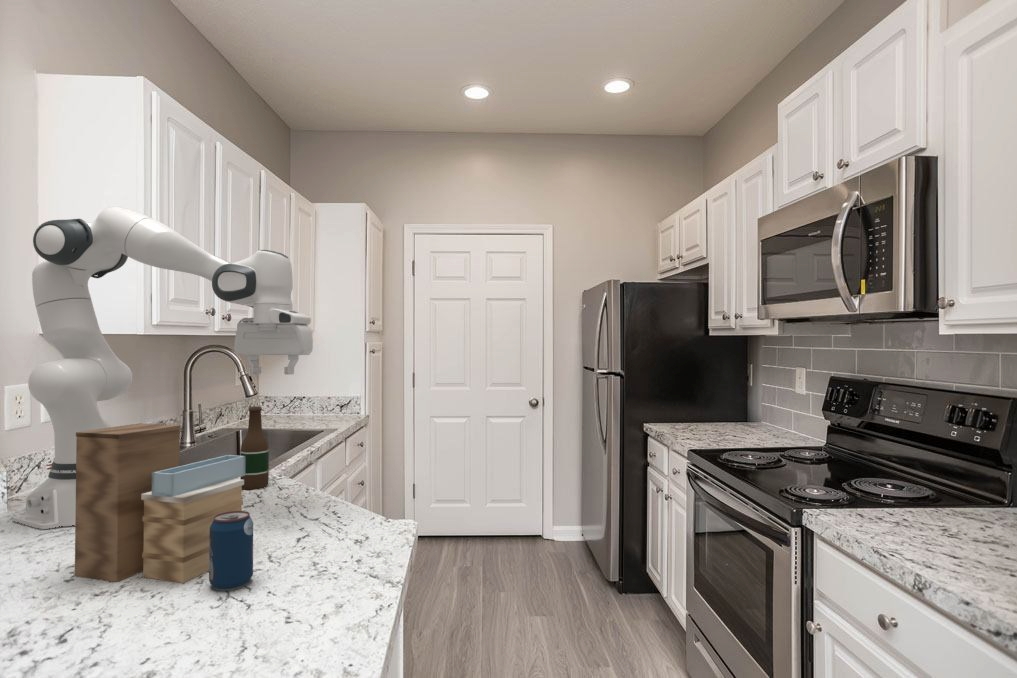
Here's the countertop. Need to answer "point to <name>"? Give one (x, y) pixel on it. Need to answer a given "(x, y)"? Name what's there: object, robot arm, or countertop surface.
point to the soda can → (231, 550)
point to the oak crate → (184, 529)
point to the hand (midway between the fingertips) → (272, 374)
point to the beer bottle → (255, 453)
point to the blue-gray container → (197, 475)
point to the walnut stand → (117, 495)
